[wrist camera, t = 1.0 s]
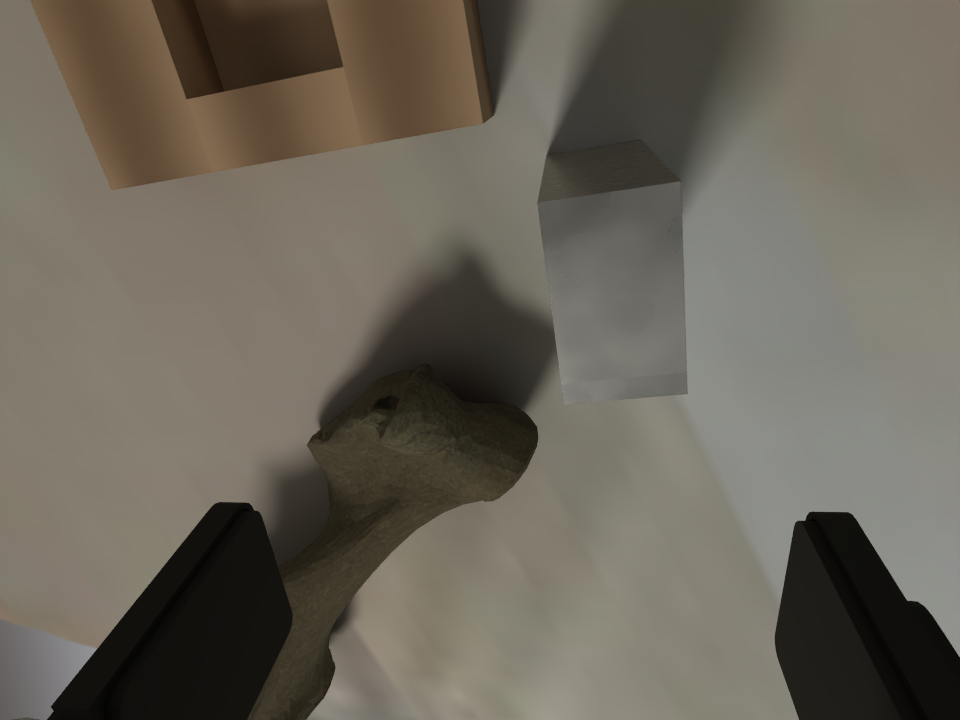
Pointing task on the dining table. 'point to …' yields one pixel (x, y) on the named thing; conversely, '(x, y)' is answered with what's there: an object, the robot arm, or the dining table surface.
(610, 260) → the grey rectangular prism
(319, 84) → the well block
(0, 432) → the dining table surface
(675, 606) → the dining table surface
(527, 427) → the bone
